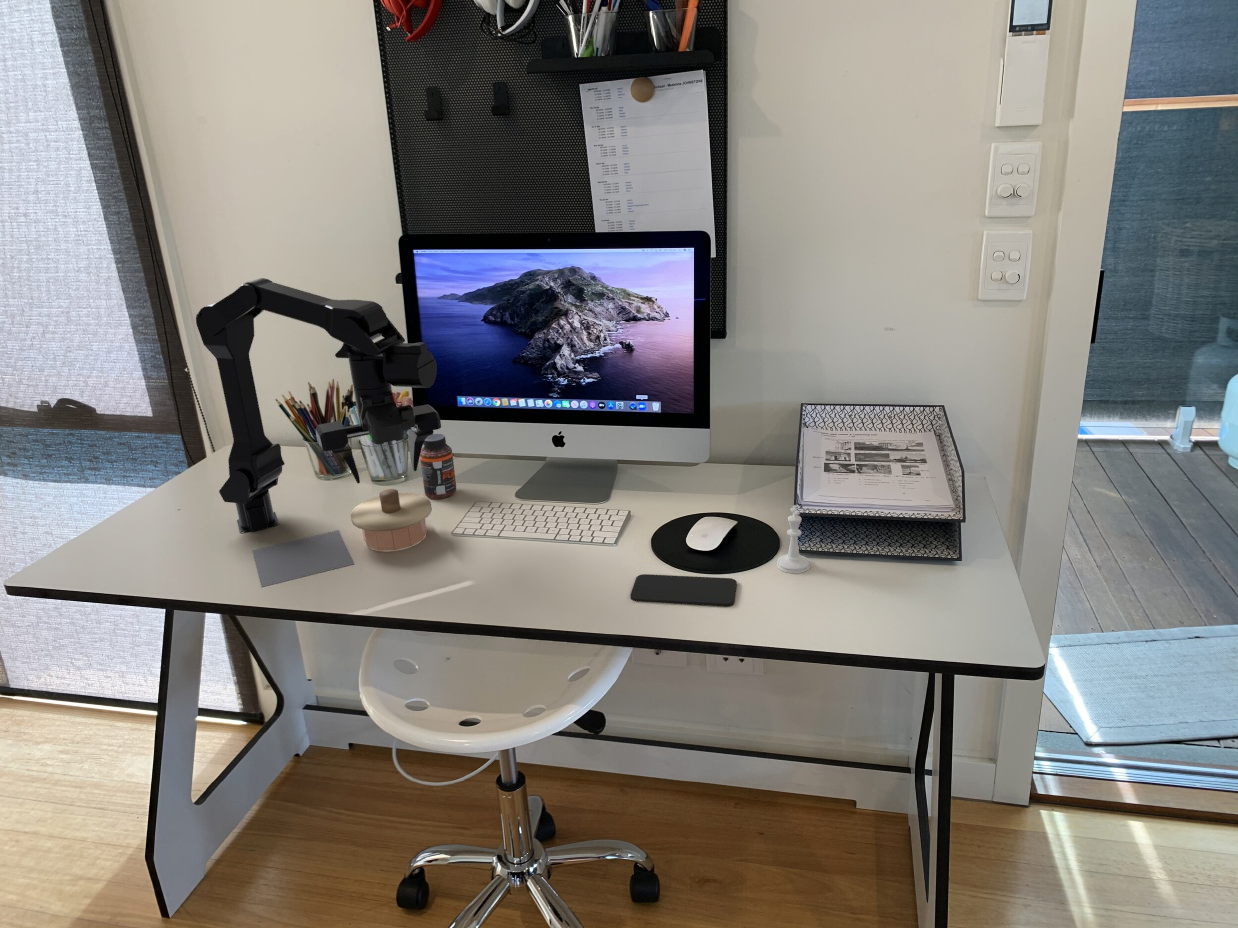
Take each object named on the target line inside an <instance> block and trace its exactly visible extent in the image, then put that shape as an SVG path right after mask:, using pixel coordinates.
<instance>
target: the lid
mask: <svg viewBox="0 0 1238 928" xmlns="http://www.w3.org/2000/svg"><path fill="white" fill-rule="evenodd" d="M378 494H379V496H376V497H373V498H368V499H366V500H364V501H363V502H360V503H359V504H357V505H356V506H355V507H354V508H353V509H352V511H351V513H350V519H351V523H352V525H353V526H354V527H356V528H358V529H360V530H362V529H363V530H368V531H391V530H397V529H402V528H405V527H409V526H412V525H414V524H417V523H419V522H421V521H422V520H424V519H425V520H426V519H427V517H429V516H430V515H431V512H432V509H433V508H432V502H431V501H430V499H429V497H427V496H425V495H422V494H421V495H420V494H417V493H408V492H400V493H399V490H398V489H395V488H388V489H383V490H381V491H380V492H379V493H378Z"/></svg>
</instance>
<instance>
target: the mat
mask: <svg viewBox="0 0 1238 928" xmlns="http://www.w3.org/2000/svg"><path fill="white" fill-rule="evenodd" d="M251 551H252V554H253V559H254V563H255V568H256V571H257V574H258V575H257V576H258V579H259V583H260V587H261V588H264V587H269V586H274V585H276V584H280V583H281V584H282V583H285V582H289V581H292V580H296V579H301V578H305V577H309V576H314V575H317V574H320V573H325V572H328V571H332V570H333V571H334V570H338V569H341V568H345V567H349V566H353V565H355V562H354V560H353V558H352V556H351V553H350V552H349V549H348V547H347V545H346V543H345V541H344V539H343V537H342V535H341V532H340V530H339V529H337V530H333V531H330V532H325V533H321V534H316V535H312V536H307V537H303V538H299V539H294V540H290V541H285V542H281V543H277V544H272V545H269V546H264V547H260V548H256V549H252V550H251Z"/></svg>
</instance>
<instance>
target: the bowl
mask: <svg viewBox="0 0 1238 928" xmlns="http://www.w3.org/2000/svg"><path fill="white" fill-rule="evenodd" d="M361 530H362V531H361V532H362V538H363V541H364V544H365V546H366V547H367V548H368V549H370V550H372V551H376V552H384V553H385V552H397V551H402V550H406V549H409V548H412V547H414V546H416V545H418V544H419V543H421V542H422V541H424V539H425V538H426V536H427V533H428V531H427V523H426V518H425V519H424V520H422V521H421V522H419V523H417V524H414V525H412V526H409V527H405V528H402V529H397V530H391V531H368V530H363V529H361Z"/></svg>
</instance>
